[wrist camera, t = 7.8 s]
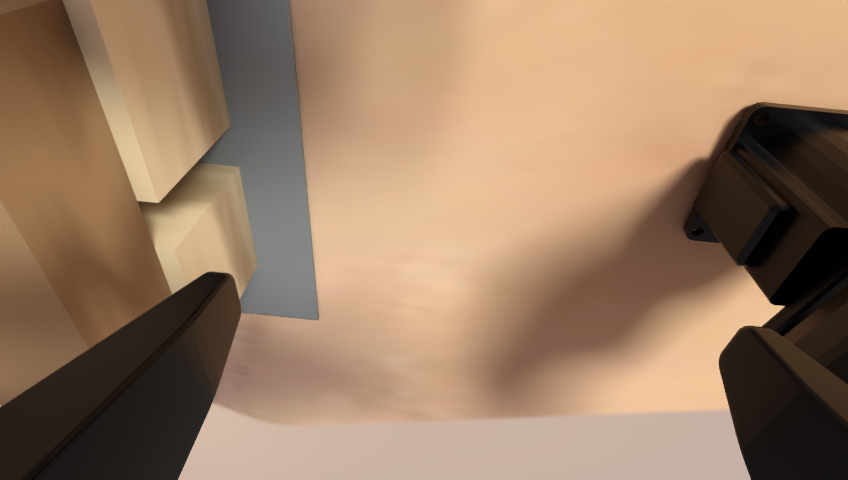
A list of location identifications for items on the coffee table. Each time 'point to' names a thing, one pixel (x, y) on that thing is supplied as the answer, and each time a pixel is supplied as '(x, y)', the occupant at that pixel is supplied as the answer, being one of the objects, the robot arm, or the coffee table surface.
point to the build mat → (266, 151)
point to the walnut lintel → (61, 205)
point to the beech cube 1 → (154, 84)
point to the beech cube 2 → (203, 227)
